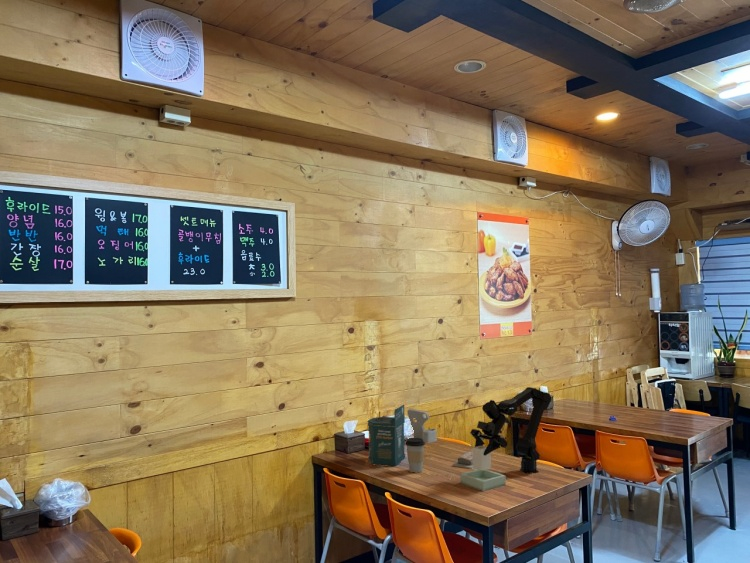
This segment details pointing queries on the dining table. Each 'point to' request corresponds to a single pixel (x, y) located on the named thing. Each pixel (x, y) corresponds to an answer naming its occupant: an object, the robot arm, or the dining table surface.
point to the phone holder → (421, 425)
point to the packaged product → (465, 460)
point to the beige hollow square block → (481, 458)
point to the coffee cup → (415, 454)
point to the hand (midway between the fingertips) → (479, 453)
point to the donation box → (387, 439)
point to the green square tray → (483, 479)
